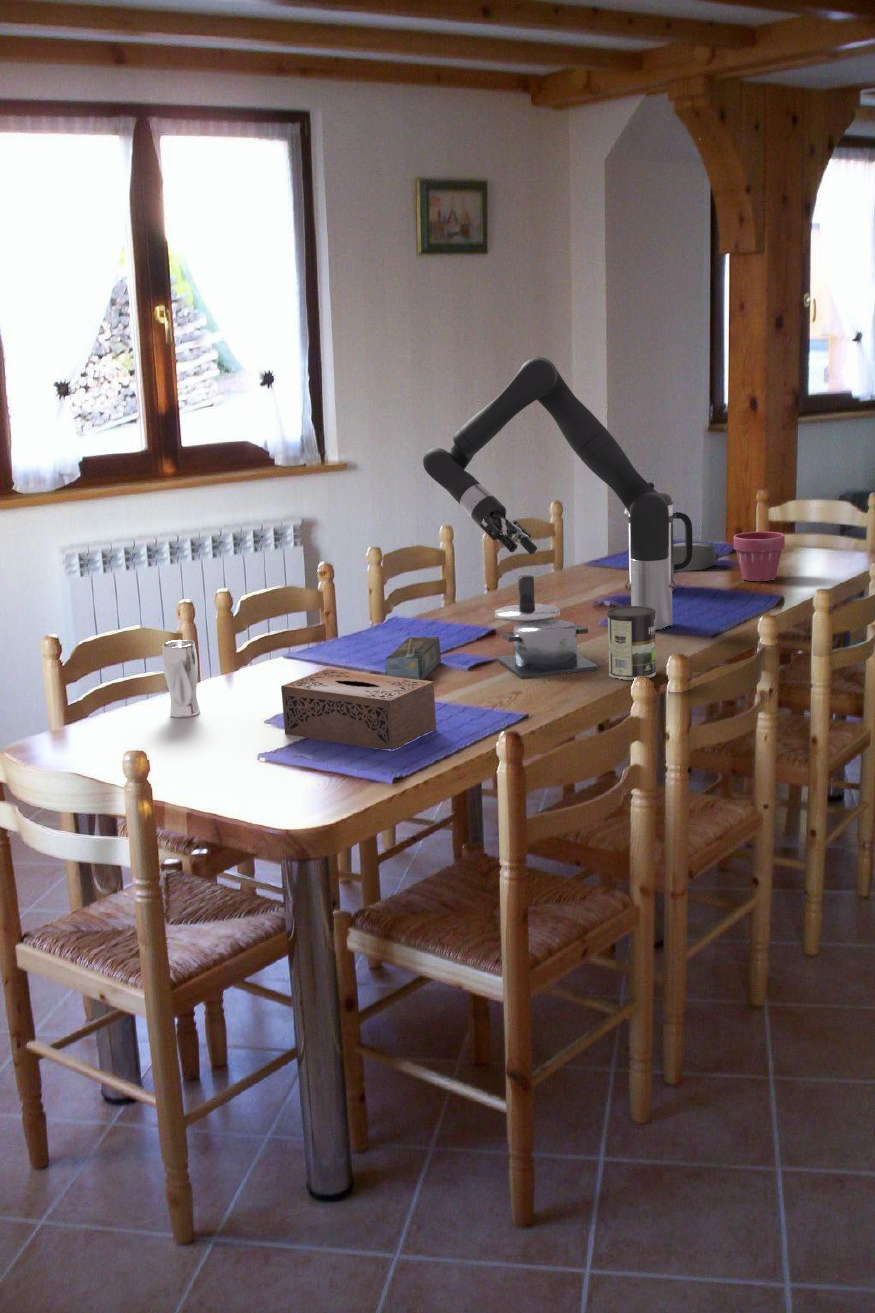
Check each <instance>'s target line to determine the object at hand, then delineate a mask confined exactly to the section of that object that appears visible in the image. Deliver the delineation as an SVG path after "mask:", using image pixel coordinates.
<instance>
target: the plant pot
mask: <svg viewBox="0 0 875 1313" xmlns="http://www.w3.org/2000/svg"><path fill="white" fill-rule="evenodd" d="M785 544H786V543H785V535H784V533H782V532H777V531H776V532H775V531H749V532H748V531H747V532H741V533H737V534H734V535H733V549H734V550H735V551H736V554H737V560H738V564H739V569H740V573H741V578H742V580H743V579H746V580H754V581H765V580H771V579H774V578H776V579H777V573H778V569H779V564H780V558H781V555H782V554H781V553H782V550H783V549H785Z"/></svg>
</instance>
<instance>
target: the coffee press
mask: <svg viewBox="0 0 875 1313" xmlns="http://www.w3.org/2000/svg"><path fill="white" fill-rule="evenodd" d="M647 483H648V484H649V485H650V486H651V487H652V488H654V489H655V484H654V483H653V482H649V481H648V482H647ZM656 491H657V492H658V493H659V494H660V495H661V496H662V497H663V498H664V499H665V501H666V503H667V506H668V510H669V557H668V559H669V588H671V589H674V588H673V587H672V586H671V585H673V586H674V587H675V590H676V589H677V588H678V585H677V584H676V582H675V579H674V575H675V574H674V573H675V572H674V570H679V569H682V568H685V567H686V566H687V565H688V564H689V563H690V561H691V558H692V543H693V524H692V520H691V519H690V517H689V516H688V515H687V514H685V512H684V513H683V512H679V511H675V512H674V511H673V510H674V507H673V506H674V504H675V501H674V499H673V498H672V495H671V494H670V493H668V492H666V491H663V490H662V491H661V490H656ZM623 512H624V515H627V523H628V527H627V528H628V575H629V576H628V581H627V582H626V583H625V586H624V587H625V589H627V590H631V586H630V587H629V586H628V584H629V583H630V584H631V555H630V514H629V512H628V510H627V509H626V508H625V509H624V511H623ZM674 519H677V520H681V521H683V524H684V528H685V530H684V531H685V534H684V536H685V538H684V539H685V558H684V560H683V561H682V562H680V563H677V564H673V544H674ZM678 589H679V588H678ZM678 589H677V590H678Z"/></svg>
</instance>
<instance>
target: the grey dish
mask: <svg viewBox="0 0 875 1313" xmlns="http://www.w3.org/2000/svg"><path fill="white" fill-rule="evenodd" d="M719 555H720V554H719V553H718V552H716V549H715V547H714V545H711V544H710V543H705V542H694V543H693V542H692V558H691V561H690V563H689V564H688V565H687V566H686V567H685V568H682V569H679V570H674V571H678V572H689V571H690V572H691V571H704V570H706V569H708V568H711V567H712V566H713V565H714V564H715V562H716V561H717V560H718V559H719V557H720V556H719ZM684 558H685V542H679V543H673V564H677V563H680V562H682V561H683V560H684Z"/></svg>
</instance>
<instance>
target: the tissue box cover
mask: <svg viewBox="0 0 875 1313" xmlns="http://www.w3.org/2000/svg"><path fill="white" fill-rule="evenodd" d="M280 689H281V699H282V700H281V702H282V712H283V715H282V716H283V725H284V728H283V729H284V735H287V736H294V737H300V738H306V739H312V740H317V741H318V740H319V741H326V742H331V743H336V742H337V743H338V744H343V745H345V744H346V745H350V746H354V747H355V746H357V747H363V748H366V749H367V748H368V749H374V748H378V749H377V750H380V749H391V750H393V749H396V748H399V747H401V746H403V745H404V744H405V743H407V742H410V741H412V740H414V739H416V738H417V737H419V736H423V735H424V734H426V733H429V732H431V731H434V730H435V729H436V730H437V719H436V718H437V717H436V700H435V699H436V698H435V696H436V695H435V681H433V680H432V681H431V680H425V679H423V680H417V679H408V678H400V677H392V676H387V675H385V674H384V675H382V674H375V673H368V672H360V671H359V672H358V671H351V670H341V669H333V668H325V669H322V670H320V671H317V672H314V673H311V674H309V675H306V676H304V677H301V678H298V679H296V680H292V681H291V682H288V683H286V684H283V685H281V687H280ZM434 732H435V731H434Z"/></svg>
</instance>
